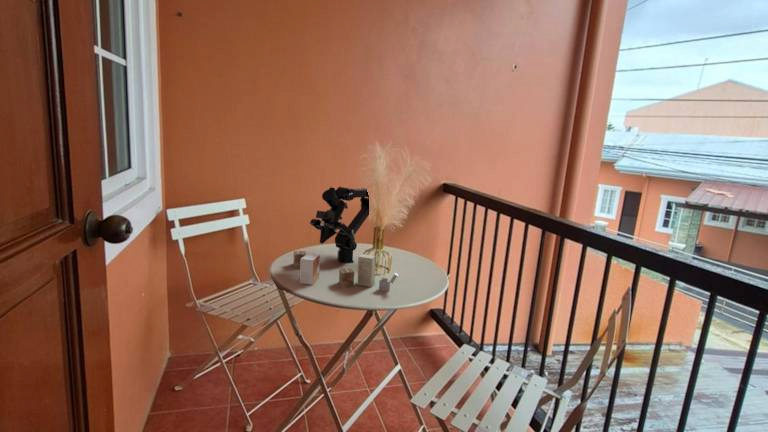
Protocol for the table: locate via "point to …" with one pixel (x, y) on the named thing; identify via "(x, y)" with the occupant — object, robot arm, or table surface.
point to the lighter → (386, 283)
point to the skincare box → (366, 270)
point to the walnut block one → (346, 277)
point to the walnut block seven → (298, 258)
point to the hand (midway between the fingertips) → (321, 243)
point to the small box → (309, 268)
